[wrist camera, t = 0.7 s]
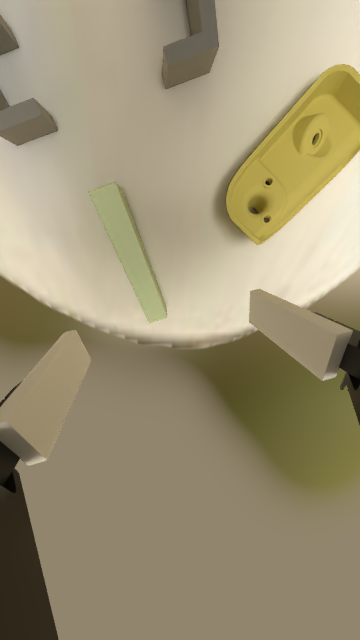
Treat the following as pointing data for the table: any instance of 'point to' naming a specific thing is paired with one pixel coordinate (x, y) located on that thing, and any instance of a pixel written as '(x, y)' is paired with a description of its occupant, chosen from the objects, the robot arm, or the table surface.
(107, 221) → the slat
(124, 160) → the table surface
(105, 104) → the table surface
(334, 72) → the plastic component
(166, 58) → the end caps
